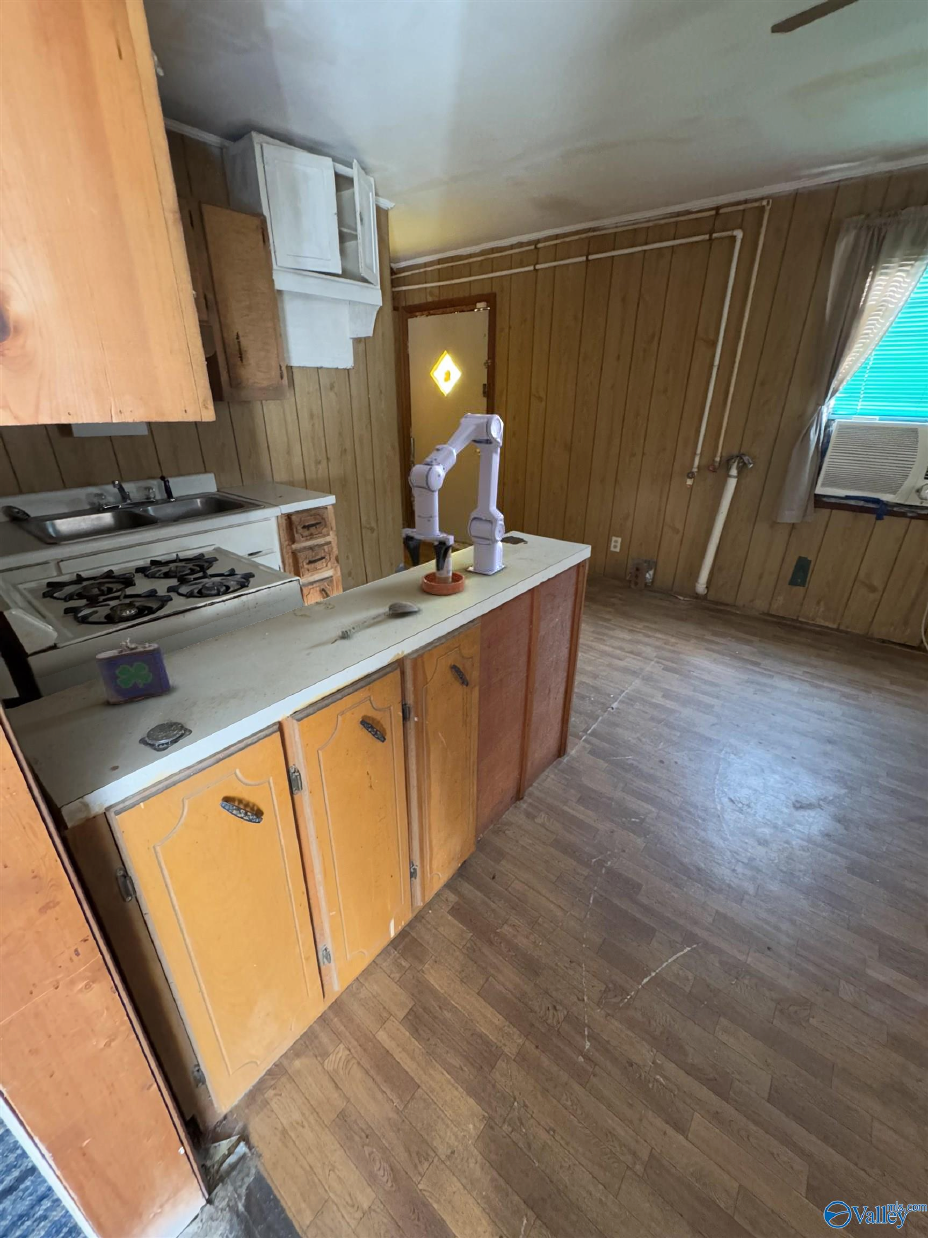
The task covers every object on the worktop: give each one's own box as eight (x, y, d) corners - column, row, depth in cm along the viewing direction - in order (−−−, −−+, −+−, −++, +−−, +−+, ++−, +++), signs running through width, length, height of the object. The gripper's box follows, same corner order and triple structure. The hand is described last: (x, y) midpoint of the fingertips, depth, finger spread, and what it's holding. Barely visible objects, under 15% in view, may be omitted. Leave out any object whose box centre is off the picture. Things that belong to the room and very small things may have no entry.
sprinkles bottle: (445, 582, 140) (444, 535, 135) (455, 586, 137) (455, 538, 131) (431, 585, 137) (431, 537, 132) (441, 590, 134) (441, 541, 129)
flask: (108, 706, 84) (90, 649, 80) (111, 697, 86) (93, 641, 82) (171, 693, 88) (157, 638, 83) (171, 685, 90) (157, 631, 86)
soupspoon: (424, 614, 122) (405, 608, 126) (423, 600, 121) (404, 595, 125) (352, 641, 107) (333, 634, 110) (351, 626, 105) (332, 619, 109)
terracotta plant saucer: (437, 578, 145) (437, 568, 143) (472, 585, 139) (472, 575, 138) (413, 590, 136) (413, 579, 134) (450, 598, 130) (450, 587, 129)
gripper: (393, 514, 124) (396, 566, 130) (442, 522, 118) (443, 576, 123) (410, 509, 130) (412, 560, 136) (458, 516, 123) (458, 569, 129)
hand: (428, 567), depth 130 cm, fingers open, 7 cm apart
